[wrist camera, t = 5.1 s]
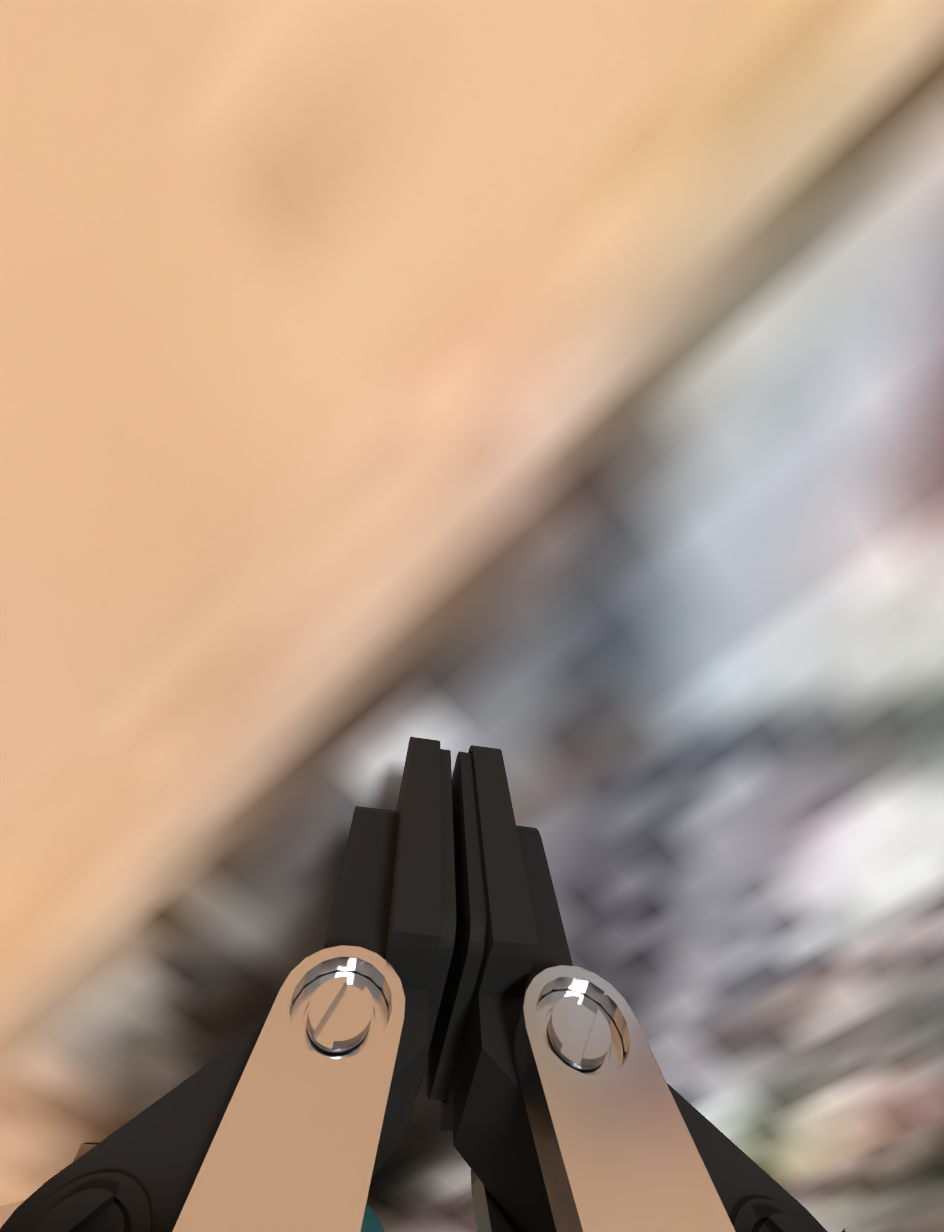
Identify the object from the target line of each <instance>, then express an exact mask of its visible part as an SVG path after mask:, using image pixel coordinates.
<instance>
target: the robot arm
mask: <svg viewBox="0 0 944 1232" xmlns="http://www.w3.org/2000/svg"><path fill="white" fill-rule="evenodd" d="M427 1055H428V1065H427V1095H428V1099H435V1100H441V1130H449V1131H453V1146H454V1147H455V1148H456V1149H457V1151H458V1152H459V1153H460V1155H461V1156H462V1157H463V1159H464V1160H465V1161H466V1162H467V1164H468V1165H469V1166H470V1168H471V1186H472V1198H473V1204H474V1211H475V1218H476V1224H477V1231H478V1232H827V1231H826V1230H825V1229H824V1228H823V1227H822V1225H821V1224H820V1223H819V1222H818V1221H817V1220H816V1219H815V1218H814V1217H813V1216H812V1215H811V1214H810V1213H809V1212H808V1211H807V1209H805V1208H804V1207H803V1206H802V1205H801V1204H800V1203H799V1202H798V1201H797V1200H796V1199H794V1198H793V1197H792V1196H791V1195H790V1194H789V1193H788V1192H787V1191H786V1190H784V1189H783V1188H782V1187H781V1186H780V1185H779V1184H778V1183H777V1182H776V1181H775V1180H773V1179H772V1178H771V1177H770V1176H769V1175H768V1174H767V1173H766V1172H765V1171H764V1170H762V1169H761V1168H760V1167H759V1166H758V1165H757V1164H756V1163H755V1162H754V1161H752V1160H751V1159H750V1158H749V1157H748V1156H747V1155H746V1154H745V1153H744V1152H743V1151H741V1150H740V1149H739V1148H738V1147H737V1146H736V1145H735V1144H734V1143H733V1142H731V1141H730V1140H729V1139H728V1138H727V1137H726V1136H725V1135H724V1134H723V1133H722V1132H720V1131H719V1130H718V1129H717V1128H716V1127H715V1126H714V1125H713V1124H712V1123H710V1122H709V1121H708V1120H707V1119H706V1118H705V1117H704V1116H703V1115H702V1114H701V1113H699V1112H698V1111H697V1110H696V1109H695V1108H694V1107H693V1106H692V1105H691V1104H689V1103H688V1102H687V1101H686V1100H685V1099H684V1098H683V1097H682V1096H681V1095H680V1094H678V1093H677V1092H676V1091H675V1090H674V1089H673V1088H672V1087H671V1086H670V1085H668V1084H667V1083H666V1081H665V1079H664V1077H663V1075H662V1072H661V1070H660V1068H659V1066H658V1064H657V1062H656V1060H655V1057H654V1055H653V1053H652V1051H651V1049H650V1047H649V1045H648V1042H647V1040H646V1038H645V1036H644V1034H643V1032H642V1029H641V1027H640V1025H639V1023H638V1021H637V1019H636V1017H635V1015H634V1013H633V1012H632V1010H631V1009H630V1007H629V1005H628V1004H627V1002H626V1000H625V999H624V998H623V997H622V996H621V995H620V994H619V993H618V992H617V990H616V989H615V988H614V987H613V986H612V985H611V984H609V983H608V982H607V981H605V980H604V979H602V978H601V977H599V976H598V975H596V974H595V973H593V972H590V971H587V970H585V969H582V968H580V967H576V966H573V964H572V960H571V956H570V952H569V948H568V944H567V940H566V936H565V932H564V928H563V924H562V920H561V916H560V912H559V908H558V904H557V900H556V896H555V892H554V888H553V884H552V880H551V876H550V872H549V868H548V864H547V859H546V855H545V851H544V847H543V843H542V839H541V836H540V833H539V831H538V830H537V829H536V828H531V827H523V826H516V824H515V819H514V813H513V808H512V803H511V798H510V793H509V787H508V782H507V777H506V772H505V767H504V761H503V756H502V752H501V750H500V749H495V748H487V747H480V746H473V745H471V746H470V749H469V752H468V753H465V752H459V753H458V755H457V759H456V763H455V768H454V772H453V777H452V779H451V753H450V750H443V749H440V741H437V740H429V739H422V738H415V737H410V741H409V745H408V751H407V756H406V762H405V767H404V773H403V778H402V784H401V789H400V795H399V800H398V805H397V811H391V810H383V809H375V808H367V807H358V806H356V807H355V811H354V815H353V820H352V824H351V829H350V833H349V838H348V842H347V847H346V852H345V856H344V861H343V865H342V870H341V874H340V879H339V883H338V888H337V893H336V897H335V902H334V906H333V911H332V915H331V920H330V925H329V929H328V934H327V938H326V943H325V947H324V949H322V950H320V951H318V952H316V953H314V954H312V955H310V956H309V957H307V958H305V959H304V960H303V961H302V962H301V963H300V964H299V965H297V966H296V967H295V968H294V969H293V970H292V971H291V972H290V974H289V975H288V977H287V979H286V980H285V982H284V983H283V985H282V987H281V988H280V990H279V992H278V995H277V997H276V999H275V1001H274V1004H273V1006H272V1008H271V1011H270V1013H269V1015H268V1017H267V1020H266V1022H265V1023H264V1024H262V1025H261V1026H260V1027H258V1028H257V1029H256V1030H254V1031H253V1032H251V1033H250V1034H249V1035H247V1036H246V1037H245V1038H243V1039H242V1040H240V1041H239V1042H238V1043H236V1044H235V1045H234V1046H232V1047H231V1048H229V1049H228V1050H227V1051H225V1052H224V1053H223V1054H221V1055H220V1056H218V1057H217V1058H216V1059H214V1060H213V1061H212V1062H210V1063H209V1064H207V1065H206V1066H205V1067H203V1068H202V1069H201V1070H199V1071H198V1072H196V1073H195V1074H194V1075H192V1076H191V1077H190V1078H188V1079H187V1080H185V1081H184V1082H183V1083H181V1084H180V1085H179V1086H177V1087H176V1088H174V1089H173V1090H172V1091H170V1092H169V1093H168V1094H166V1095H165V1096H163V1097H162V1098H161V1099H159V1100H158V1101H157V1102H155V1103H154V1104H152V1105H151V1106H150V1107H148V1108H147V1109H146V1110H144V1111H143V1112H141V1113H140V1114H139V1115H137V1116H136V1117H135V1118H133V1119H132V1120H130V1121H129V1122H128V1123H126V1124H125V1125H124V1126H122V1127H121V1128H120V1129H118V1130H117V1131H115V1132H114V1133H113V1134H111V1135H110V1136H109V1137H107V1138H106V1139H104V1140H103V1141H102V1142H100V1143H99V1144H98V1145H96V1146H95V1147H93V1148H92V1149H91V1150H89V1151H88V1152H87V1153H85V1154H84V1155H82V1156H81V1157H80V1158H78V1159H77V1160H76V1161H74V1162H73V1163H71V1164H70V1165H69V1166H67V1167H66V1168H65V1169H63V1170H62V1171H60V1172H59V1173H58V1174H56V1175H55V1176H54V1177H52V1178H51V1179H49V1180H48V1181H47V1182H46V1183H45V1184H43V1185H42V1186H41V1187H40V1188H39V1189H38V1190H37V1191H35V1192H34V1193H33V1194H32V1195H31V1196H30V1197H29V1198H28V1199H26V1200H25V1201H21V1202H17V1203H13V1204H9V1205H4V1206H0V1232H360V1231H361V1226H362V1221H363V1216H364V1211H365V1207H366V1202H367V1197H368V1192H369V1187H370V1182H371V1179H372V1177H373V1176H374V1175H375V1174H376V1173H377V1172H378V1171H379V1169H380V1168H381V1167H382V1166H383V1165H384V1164H385V1163H386V1162H387V1160H388V1159H389V1158H390V1157H391V1156H392V1155H393V1154H394V1152H395V1151H396V1150H397V1149H398V1148H399V1147H400V1146H401V1144H402V1143H403V1140H404V1136H405V1132H406V1128H407V1124H408V1120H409V1116H410V1112H411V1107H412V1103H413V1099H414V1098H417V1095H418V1091H419V1087H420V1083H421V1079H422V1075H423V1071H424V1067H425V1063H426V1059H427ZM842 1232H854V1231H851V1230H848V1229H845V1228H844V1229H843V1231H842Z"/></svg>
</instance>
